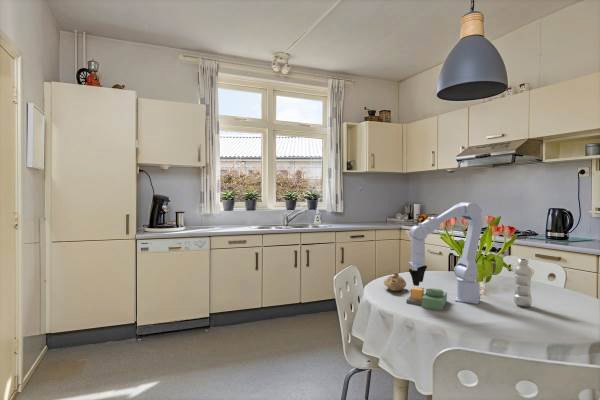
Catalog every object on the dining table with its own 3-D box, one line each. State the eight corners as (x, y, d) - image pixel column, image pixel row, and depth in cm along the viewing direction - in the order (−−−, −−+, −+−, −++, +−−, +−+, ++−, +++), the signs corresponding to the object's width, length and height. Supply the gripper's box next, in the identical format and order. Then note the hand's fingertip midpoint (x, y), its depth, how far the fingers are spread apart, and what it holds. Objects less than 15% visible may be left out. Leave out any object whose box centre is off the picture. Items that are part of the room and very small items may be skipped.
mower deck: (446, 301, 160) (446, 288, 160) (441, 310, 148) (441, 295, 148) (412, 296, 168) (412, 283, 167) (404, 304, 156) (404, 290, 155)
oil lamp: (385, 294, 172) (385, 277, 172) (382, 286, 187) (382, 270, 187) (409, 294, 171) (409, 278, 170) (404, 286, 185) (404, 271, 185)
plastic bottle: (523, 309, 149) (524, 261, 149) (510, 304, 155) (510, 258, 155) (535, 307, 151) (536, 260, 150) (521, 303, 157) (522, 257, 157)
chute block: (423, 301, 160) (423, 288, 160) (421, 304, 157) (421, 290, 156) (412, 299, 163) (412, 286, 163) (410, 302, 159) (410, 288, 159)
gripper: (412, 250, 167) (412, 279, 168) (404, 254, 155) (404, 286, 155) (428, 251, 164) (428, 280, 164) (421, 256, 151) (421, 288, 152)
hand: (418, 283), depth 159 cm, fingers open, 7 cm apart
